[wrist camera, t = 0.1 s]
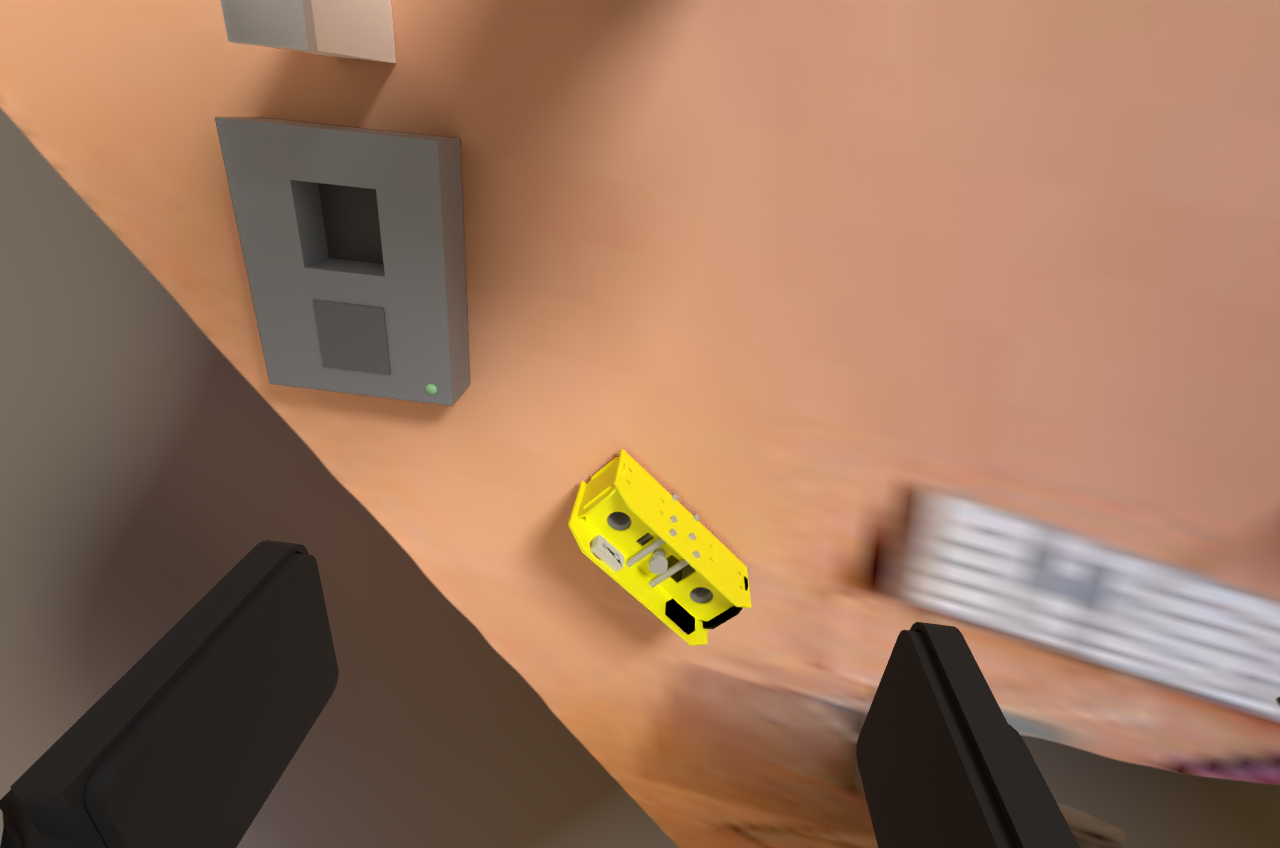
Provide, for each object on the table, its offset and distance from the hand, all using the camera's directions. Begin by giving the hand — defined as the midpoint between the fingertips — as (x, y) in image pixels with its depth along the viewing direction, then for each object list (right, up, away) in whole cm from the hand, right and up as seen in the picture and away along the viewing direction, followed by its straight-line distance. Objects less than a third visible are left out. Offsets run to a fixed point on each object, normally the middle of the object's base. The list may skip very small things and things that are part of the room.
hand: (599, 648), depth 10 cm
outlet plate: (-19, +16, +35) cm, 43 cm away
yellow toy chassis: (+3, -5, +44) cm, 44 cm away
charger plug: (-17, +29, +28) cm, 44 cm away
